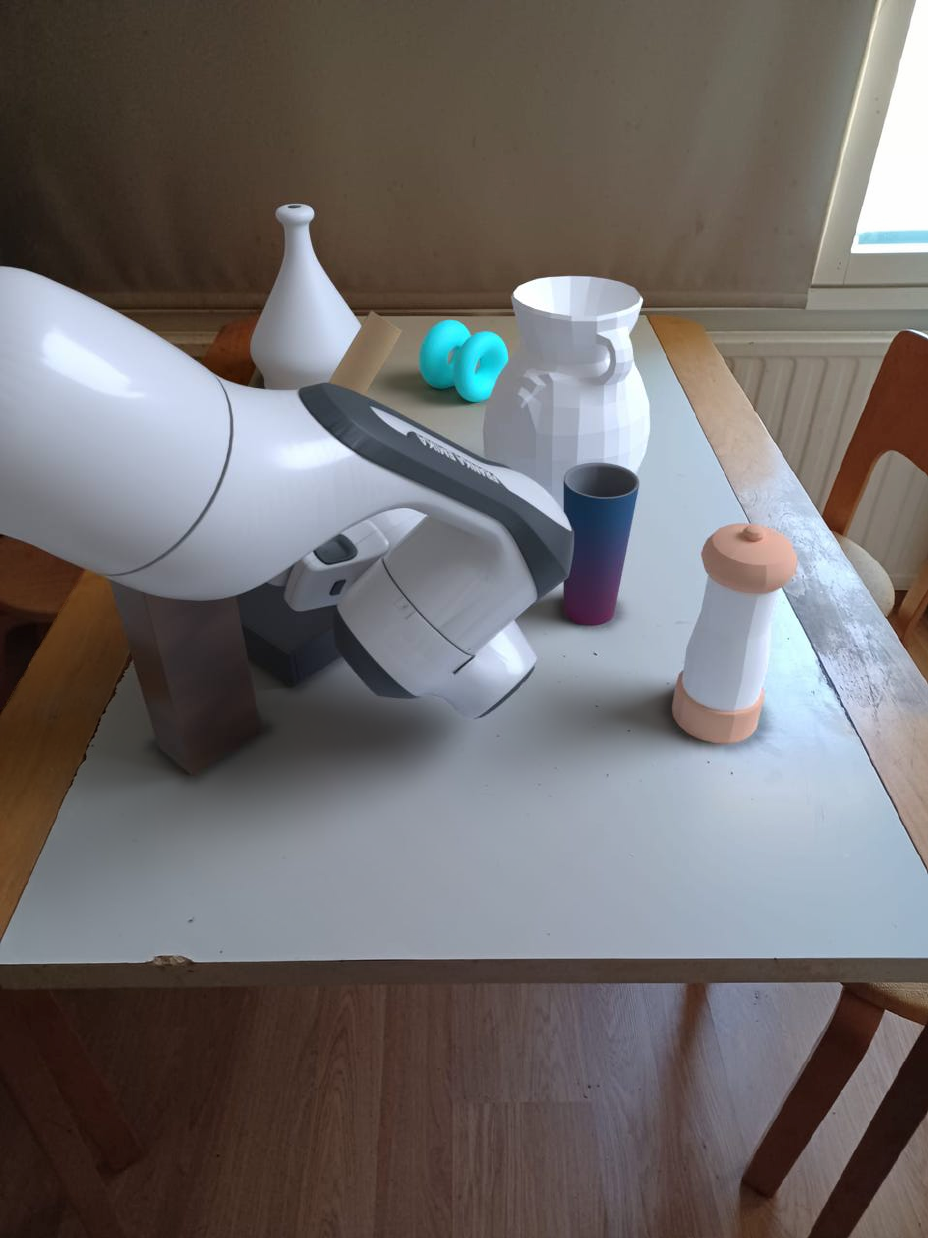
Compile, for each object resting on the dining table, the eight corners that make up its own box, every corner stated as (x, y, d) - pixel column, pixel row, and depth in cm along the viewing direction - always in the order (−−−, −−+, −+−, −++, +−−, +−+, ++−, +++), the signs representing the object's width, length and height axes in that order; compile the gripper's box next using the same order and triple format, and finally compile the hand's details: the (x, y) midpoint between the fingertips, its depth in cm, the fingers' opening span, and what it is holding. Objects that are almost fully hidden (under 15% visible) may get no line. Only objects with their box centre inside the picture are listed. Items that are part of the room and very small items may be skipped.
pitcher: (672, 520, 105) (706, 302, 90) (541, 566, 97) (554, 337, 82) (576, 457, 118) (591, 257, 103) (453, 493, 110) (450, 283, 95)
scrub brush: (407, 343, 78) (415, 333, 73) (318, 493, 78) (321, 493, 73) (357, 310, 77) (362, 297, 72) (267, 462, 77) (266, 459, 72)
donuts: (463, 374, 140) (462, 310, 134) (511, 392, 134) (513, 326, 128) (416, 394, 134) (413, 327, 128) (464, 413, 129) (464, 344, 123)
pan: (294, 689, 82) (288, 655, 79) (168, 602, 93) (160, 569, 90) (406, 619, 90) (404, 586, 88) (278, 546, 101) (273, 515, 99)
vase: (237, 400, 133) (206, 218, 118) (281, 357, 146) (259, 189, 131) (350, 410, 130) (333, 225, 115) (384, 365, 143) (374, 194, 128)
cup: (627, 634, 88) (644, 498, 79) (556, 633, 88) (566, 498, 79) (618, 593, 93) (634, 462, 84) (552, 593, 93) (560, 461, 84)
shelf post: (193, 779, 73) (116, 495, 57) (158, 749, 76) (76, 470, 60) (262, 733, 77) (209, 457, 62) (227, 707, 80) (167, 436, 64)
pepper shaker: (687, 679, 83) (722, 493, 71) (767, 706, 80) (817, 517, 68) (659, 727, 78) (691, 536, 66) (742, 758, 75) (792, 564, 63)
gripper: (480, 478, 78) (379, 366, 81) (295, 578, 66) (182, 443, 68) (454, 520, 83) (360, 413, 86) (277, 620, 71) (173, 493, 73)
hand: (280, 427), depth 77 cm, fingers closed on scrub brush, 5 cm apart
